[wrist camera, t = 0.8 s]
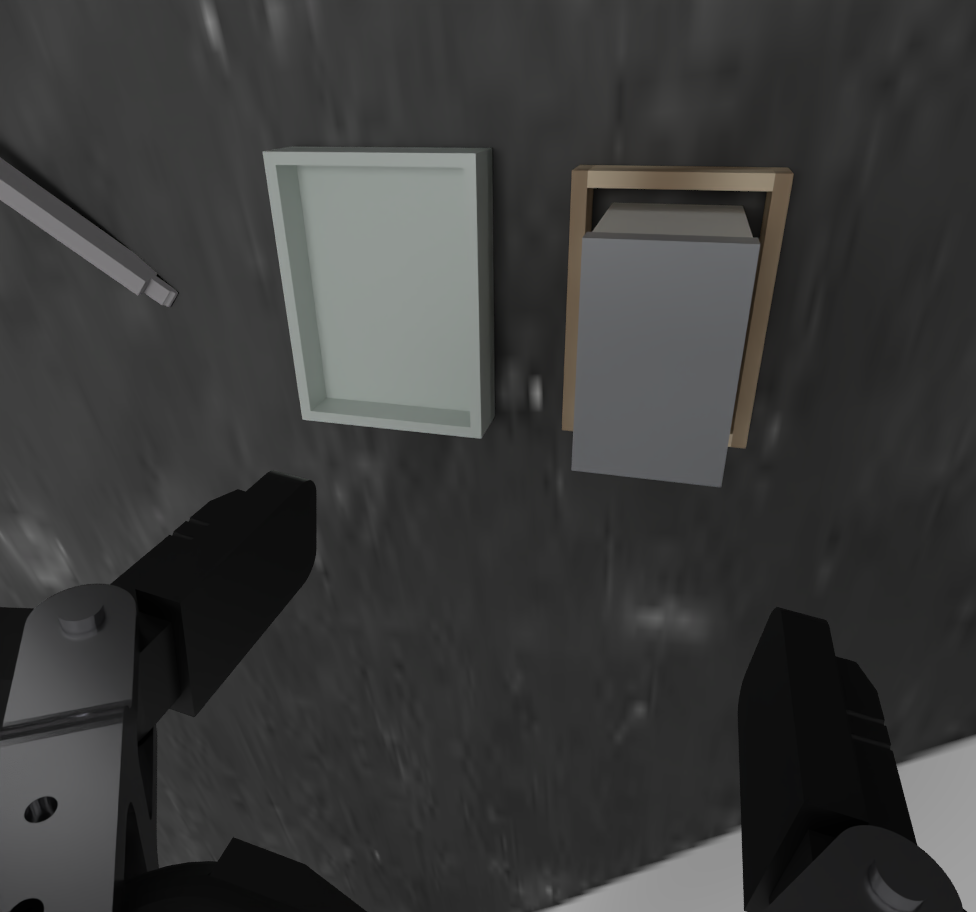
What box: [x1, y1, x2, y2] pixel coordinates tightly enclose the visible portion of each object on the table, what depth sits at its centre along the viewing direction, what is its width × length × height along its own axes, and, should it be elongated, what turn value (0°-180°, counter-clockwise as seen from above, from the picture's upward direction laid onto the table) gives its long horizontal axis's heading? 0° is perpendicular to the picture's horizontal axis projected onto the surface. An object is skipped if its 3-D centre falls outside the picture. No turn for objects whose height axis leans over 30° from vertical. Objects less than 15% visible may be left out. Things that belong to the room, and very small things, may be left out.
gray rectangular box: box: [571, 202, 760, 487], centre depth 27 cm, size 5×8×8 cm, turn 179°
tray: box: [263, 146, 495, 439], centre depth 32 cm, size 9×12×2 cm
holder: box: [562, 165, 794, 448], centre depth 29 cm, size 8×11×2 cm
